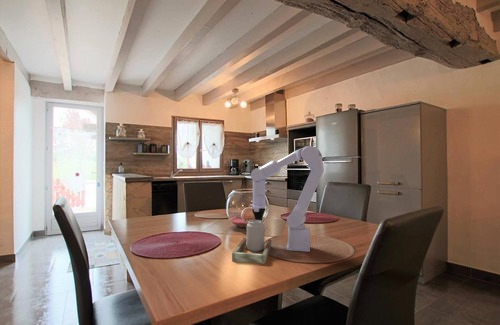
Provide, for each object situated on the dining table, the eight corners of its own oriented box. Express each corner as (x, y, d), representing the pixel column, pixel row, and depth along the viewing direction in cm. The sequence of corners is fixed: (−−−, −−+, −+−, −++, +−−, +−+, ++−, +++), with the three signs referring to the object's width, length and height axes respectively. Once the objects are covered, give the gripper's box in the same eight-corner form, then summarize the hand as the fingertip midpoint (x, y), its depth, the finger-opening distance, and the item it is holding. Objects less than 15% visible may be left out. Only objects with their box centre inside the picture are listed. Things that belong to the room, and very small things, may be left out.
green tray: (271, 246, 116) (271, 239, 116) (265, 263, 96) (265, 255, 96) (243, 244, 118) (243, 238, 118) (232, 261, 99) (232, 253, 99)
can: (264, 246, 115) (264, 219, 115) (263, 252, 108) (264, 223, 108) (247, 246, 116) (247, 218, 116) (245, 252, 109) (245, 222, 109)
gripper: (253, 192, 129) (253, 220, 129) (247, 196, 115) (246, 228, 115) (267, 193, 127) (267, 221, 127) (263, 197, 113) (263, 229, 113)
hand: (258, 224), depth 121 cm, fingers closed
